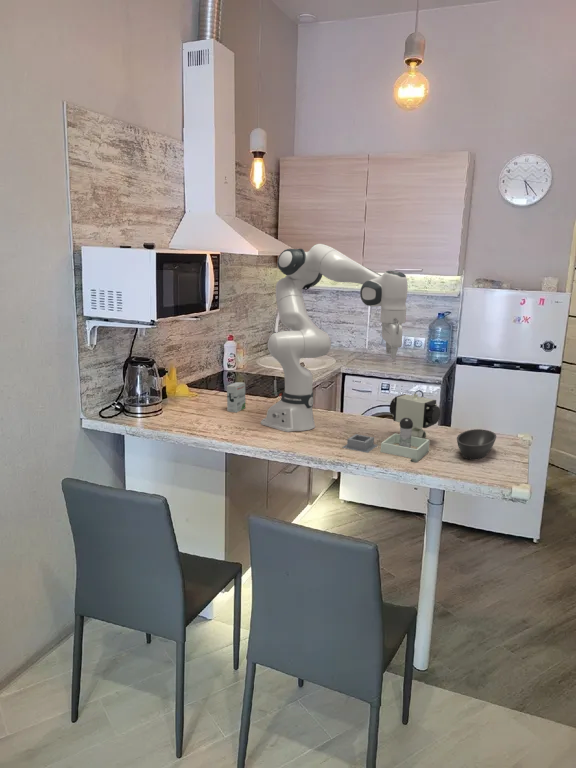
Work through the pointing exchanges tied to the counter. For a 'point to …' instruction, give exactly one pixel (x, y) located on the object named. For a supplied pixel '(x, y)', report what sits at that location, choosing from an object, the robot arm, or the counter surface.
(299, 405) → the robot arm
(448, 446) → the counter surface
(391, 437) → the bin
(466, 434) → the bowl
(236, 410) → the ink box
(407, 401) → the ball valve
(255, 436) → the counter surface
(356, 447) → the socket block
